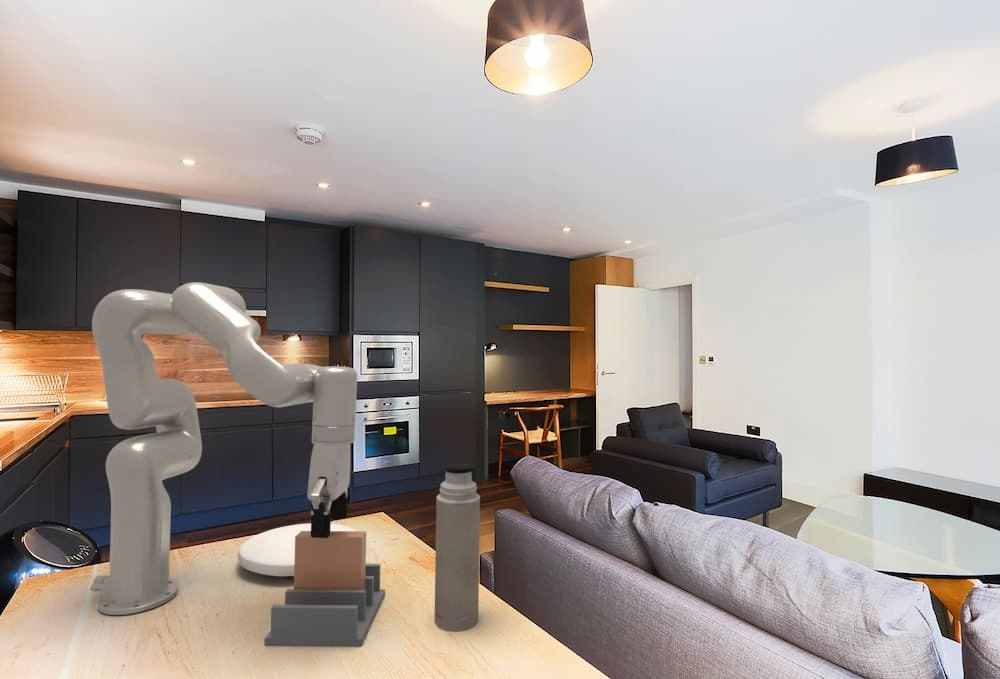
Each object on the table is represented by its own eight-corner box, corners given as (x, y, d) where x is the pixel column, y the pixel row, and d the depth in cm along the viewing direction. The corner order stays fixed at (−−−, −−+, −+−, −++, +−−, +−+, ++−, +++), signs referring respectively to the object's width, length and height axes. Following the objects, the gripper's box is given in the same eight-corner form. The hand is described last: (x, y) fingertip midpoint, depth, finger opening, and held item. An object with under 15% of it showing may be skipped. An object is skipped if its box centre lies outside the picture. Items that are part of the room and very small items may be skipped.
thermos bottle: (429, 612, 95) (432, 462, 95) (470, 605, 98) (472, 459, 98) (440, 635, 87) (443, 471, 88) (484, 626, 90) (486, 468, 91)
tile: (293, 615, 91) (295, 536, 91) (299, 607, 94) (301, 530, 94) (360, 616, 91) (361, 537, 91) (364, 607, 94) (366, 531, 94)
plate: (289, 515, 135) (382, 524, 130) (287, 540, 134) (380, 550, 129) (210, 542, 108) (324, 555, 102) (206, 574, 107) (321, 588, 102)
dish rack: (264, 645, 84) (265, 607, 84) (304, 594, 101) (305, 563, 101) (361, 646, 84) (362, 608, 84) (384, 595, 101) (385, 564, 101)
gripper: (328, 425, 102) (325, 511, 101) (294, 441, 84) (289, 544, 84) (366, 427, 102) (362, 512, 101) (339, 443, 84) (334, 546, 84)
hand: (329, 527), depth 93 cm, fingers open, 9 cm apart
